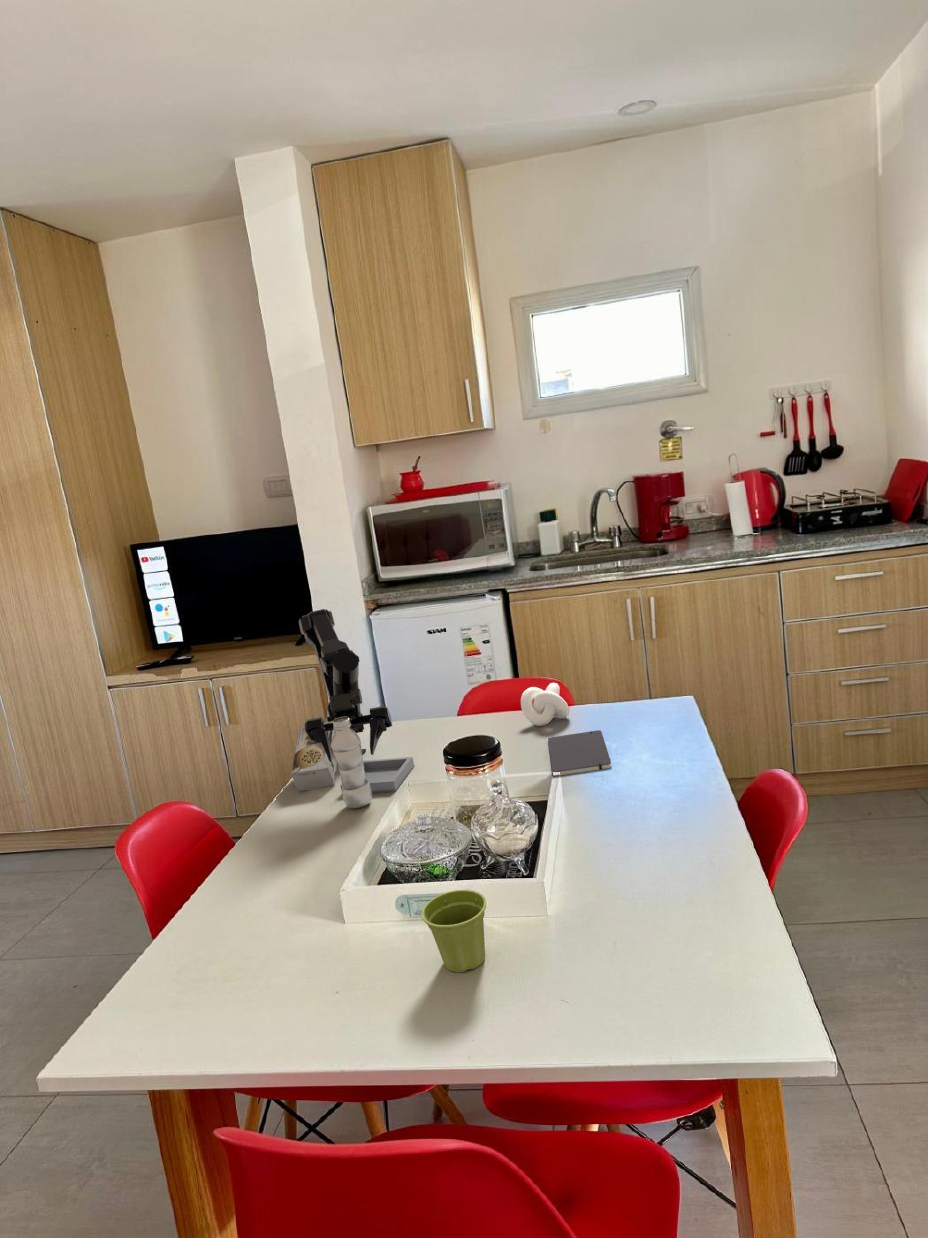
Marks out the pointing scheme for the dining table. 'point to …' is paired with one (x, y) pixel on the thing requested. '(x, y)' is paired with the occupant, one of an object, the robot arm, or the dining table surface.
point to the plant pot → (458, 928)
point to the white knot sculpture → (543, 705)
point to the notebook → (578, 752)
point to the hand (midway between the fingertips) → (351, 757)
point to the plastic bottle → (350, 764)
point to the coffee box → (312, 763)
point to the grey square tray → (387, 773)
